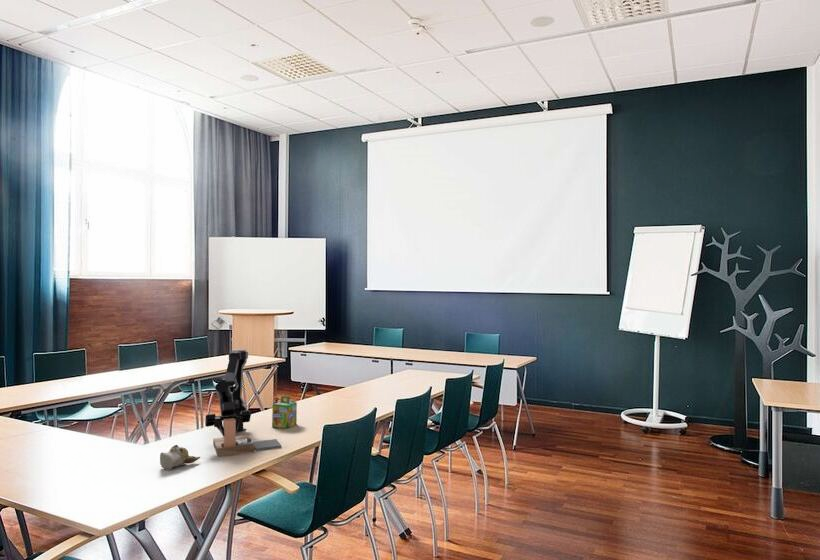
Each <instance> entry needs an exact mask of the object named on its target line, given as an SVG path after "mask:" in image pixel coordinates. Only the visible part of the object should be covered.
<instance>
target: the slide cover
mask: <svg viewBox="0 0 820 560" xmlns="http://www.w3.org/2000/svg"><path fill="white" fill-rule="evenodd" d="M252 440H253V439H252V438H251V437H249V438H247V439H241V440H236V442H237V444H238V446H242V445H250V444H253V442H254V441H252Z"/></svg>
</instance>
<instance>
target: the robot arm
mask: <svg viewBox="0 0 820 560" xmlns="http://www.w3.org/2000/svg"><path fill="white" fill-rule="evenodd" d="M248 359H249V352H248V351H247V350H246V349H232V350H231V351H228V364H227V367H226V368H227V369H226V373H225V374H224V375H223V376H222V377H221V379H220V381H219V382H218V383H216V384H215V387H214V389H215V392H216V396H217V398H218V399H219V409H220V414H219V415H216V413H208V414H206V415H205V419H204V425H205V427H214V428H217V430H219V433H220V434H221V435H222V436H223V437H224V428H223V419H229V418H234V419H235V420H236V435H237V433H239V432H240V433H241V432H244V431H247V428H244V423H249V422H251V416H252V413H251V410H247V407H246V404H245V401H244V400H243V399H244V398H243V397H242V394H243V373H244V367H245V366H246V364H247V363H248V362H247V361H248ZM223 437H222V438H223Z"/></svg>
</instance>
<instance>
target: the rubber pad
mask: <svg viewBox="0 0 820 560" xmlns="http://www.w3.org/2000/svg"><path fill="white" fill-rule="evenodd" d="M252 442H253V444H254V446H255V452H257V451H265V450H266V451H267V450H272V449H273V450H274V449H280V448H281V449H282V445H281V443H280V442H279V441H278V439H276V438H274V439H267V440H264V439H263V440H257V441H252Z"/></svg>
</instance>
